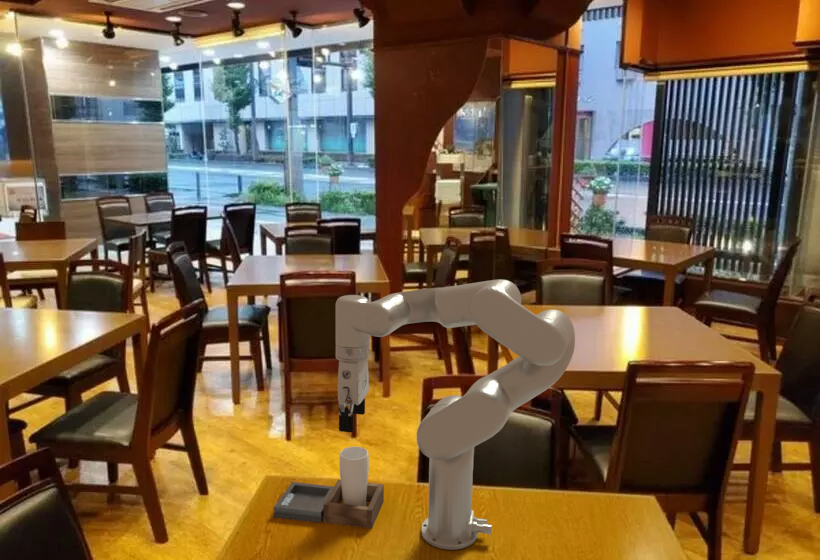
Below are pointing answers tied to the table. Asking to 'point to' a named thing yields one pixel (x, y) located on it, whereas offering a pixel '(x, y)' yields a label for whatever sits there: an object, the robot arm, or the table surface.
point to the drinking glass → (354, 475)
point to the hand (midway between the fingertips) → (352, 422)
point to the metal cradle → (303, 502)
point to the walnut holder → (353, 507)
